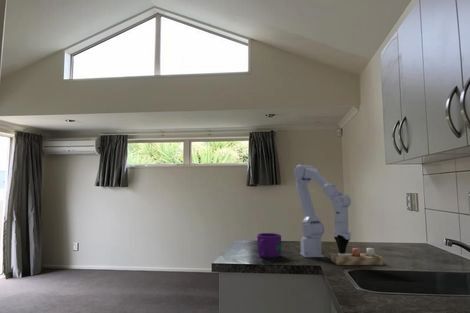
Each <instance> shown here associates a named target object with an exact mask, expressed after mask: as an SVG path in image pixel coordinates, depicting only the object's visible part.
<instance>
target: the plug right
mask: <svg viewBox="0 0 470 313" xmlns="http://www.w3.org/2000/svg"><path fill="white" fill-rule="evenodd" d="M366 254H367V256H369V257H374V256H375V255H374V254H375V248H373V247H366Z"/></svg>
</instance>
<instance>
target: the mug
mask: <svg viewBox="0 0 470 313" xmlns="http://www.w3.org/2000/svg"><path fill="white" fill-rule="evenodd" d="M256 238H257V240H256V241H257V242H256V243H257V253H258V256H260V257H262V258H267V259H273V258H275V259H276V258H279V257H280V255H281V250H282V235H281V234H279V233H273V232H263V233H258V234H257V236H256Z"/></svg>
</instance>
